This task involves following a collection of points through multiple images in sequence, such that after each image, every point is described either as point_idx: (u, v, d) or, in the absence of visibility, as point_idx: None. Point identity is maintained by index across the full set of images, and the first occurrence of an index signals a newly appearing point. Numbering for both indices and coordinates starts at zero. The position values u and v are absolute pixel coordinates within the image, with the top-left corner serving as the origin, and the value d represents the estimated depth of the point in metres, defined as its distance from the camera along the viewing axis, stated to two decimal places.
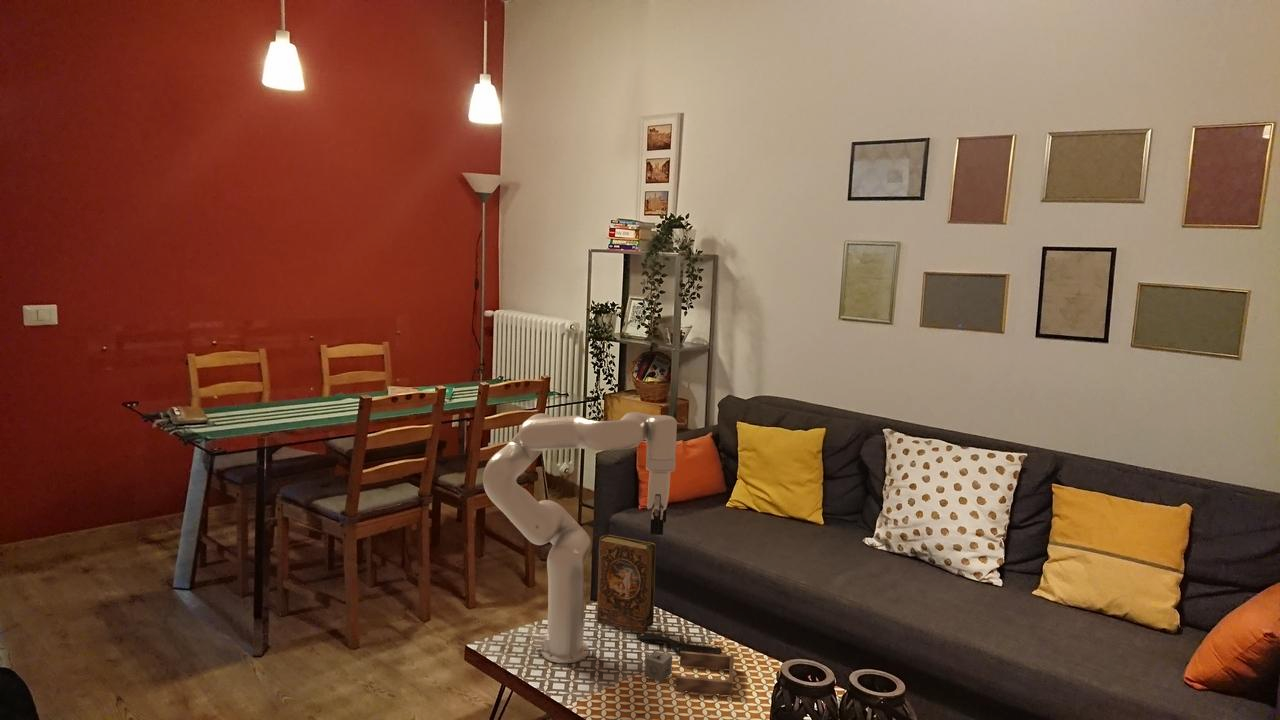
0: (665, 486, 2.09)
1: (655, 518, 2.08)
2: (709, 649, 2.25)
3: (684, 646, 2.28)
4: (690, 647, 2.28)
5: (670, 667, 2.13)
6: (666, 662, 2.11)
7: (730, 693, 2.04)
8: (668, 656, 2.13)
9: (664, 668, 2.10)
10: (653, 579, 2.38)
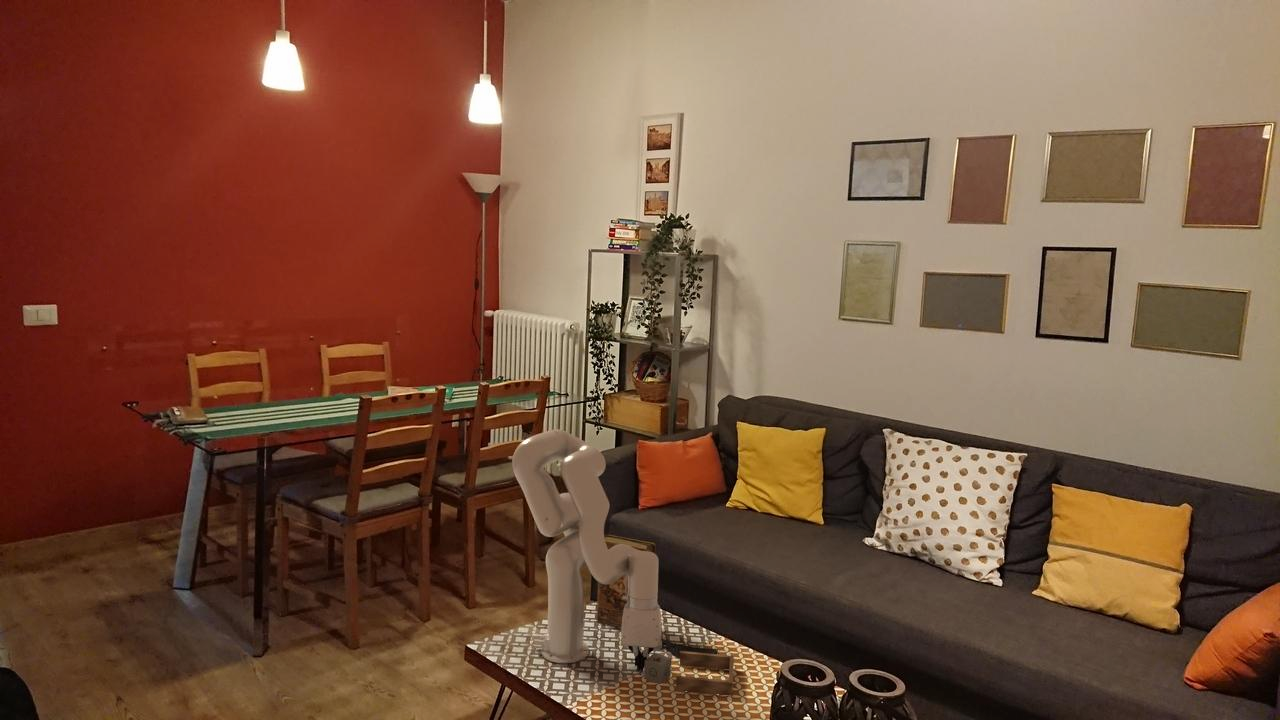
0: None
1: None
2: (705, 650, 2.25)
3: (680, 647, 2.27)
4: None
5: (669, 669, 2.12)
6: (665, 664, 2.09)
7: (730, 693, 2.04)
8: (667, 658, 2.12)
9: (663, 670, 2.09)
10: None
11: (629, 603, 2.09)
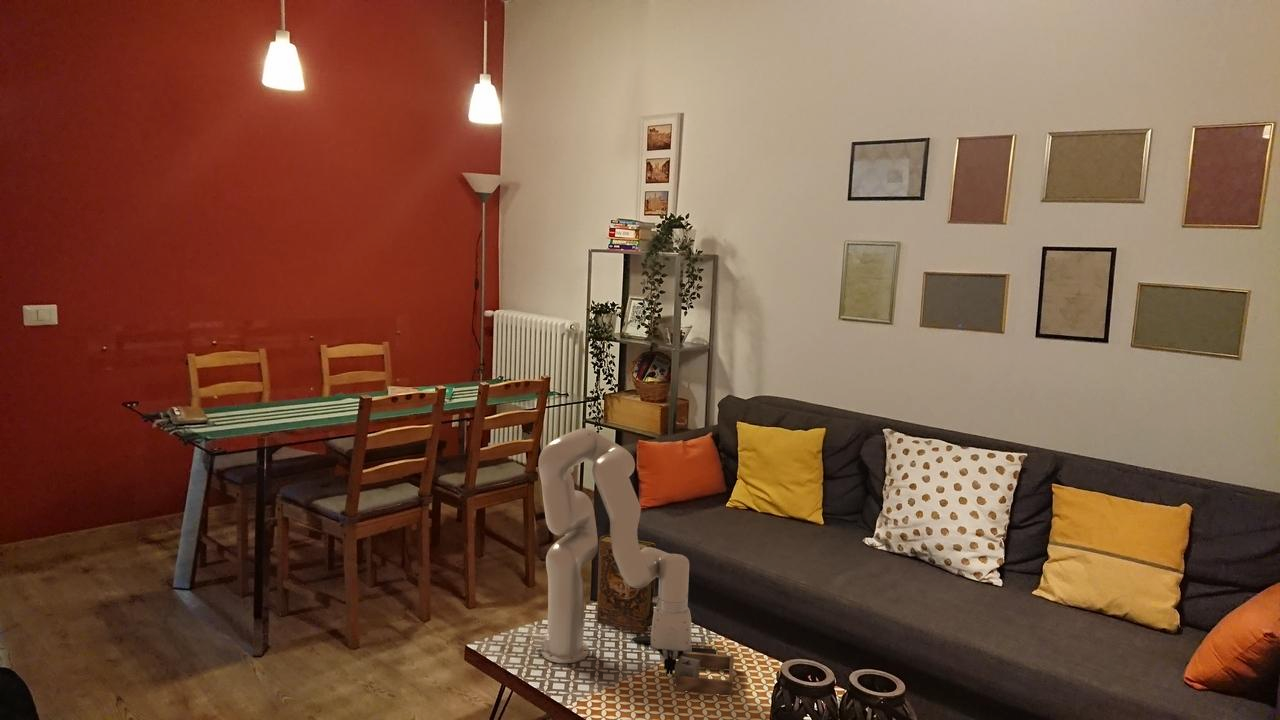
0: None
1: None
2: (704, 650, 2.25)
3: None
4: None
5: (698, 672, 2.11)
6: (696, 667, 2.08)
7: (730, 693, 2.04)
8: (696, 661, 2.11)
9: (694, 673, 2.08)
10: (653, 579, 2.38)
11: (659, 606, 2.08)
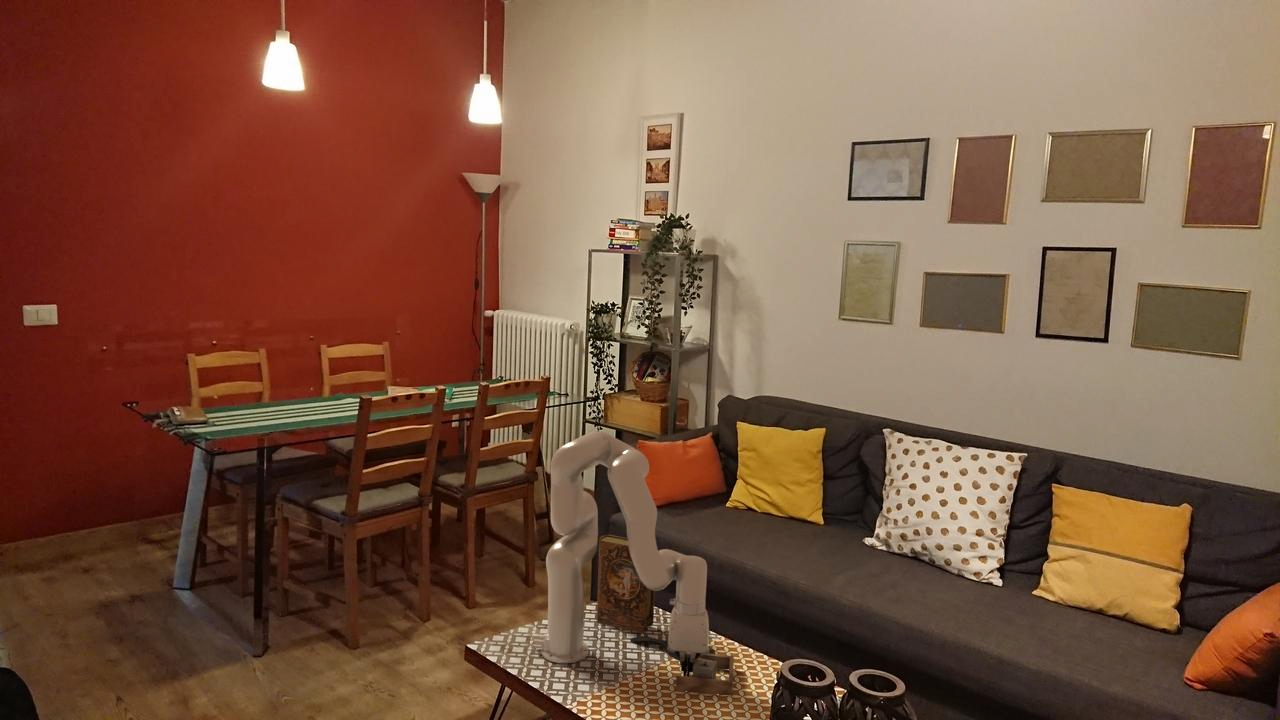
0: None
1: None
2: None
3: None
4: None
5: (715, 673, 2.11)
6: (714, 668, 2.08)
7: (730, 693, 2.04)
8: (713, 662, 2.10)
9: (713, 675, 2.07)
10: None
11: (677, 608, 2.08)
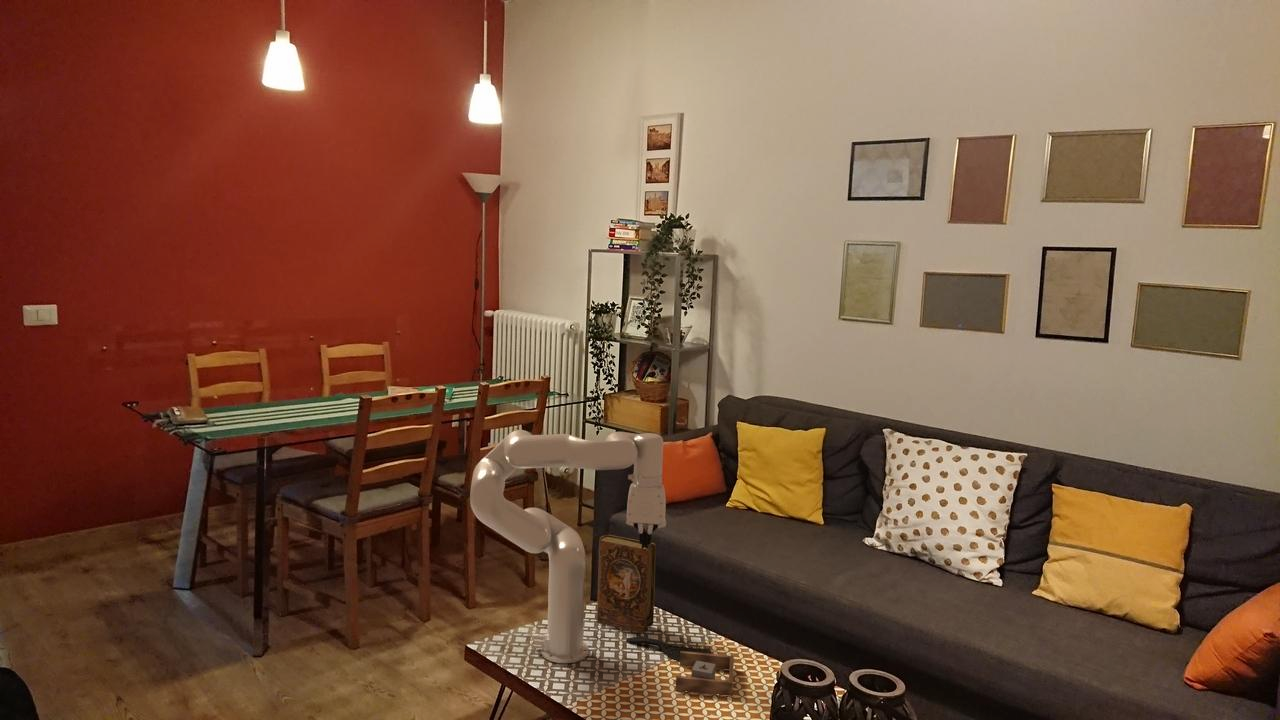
0: None
1: None
2: (698, 650, 2.25)
3: (673, 648, 2.26)
4: (679, 649, 2.26)
5: (714, 676, 2.09)
6: (713, 671, 2.07)
7: (730, 693, 2.04)
8: (712, 665, 2.09)
9: (711, 677, 2.06)
10: (653, 579, 2.38)
11: (635, 481, 2.19)
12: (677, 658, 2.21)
